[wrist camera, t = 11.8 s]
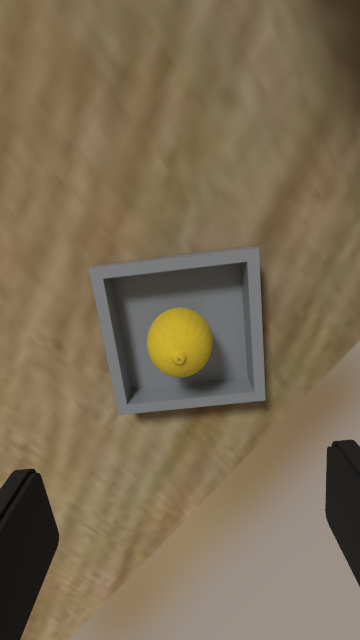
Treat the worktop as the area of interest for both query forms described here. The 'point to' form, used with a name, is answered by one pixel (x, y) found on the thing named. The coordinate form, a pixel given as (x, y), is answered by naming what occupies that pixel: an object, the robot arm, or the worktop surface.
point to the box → (193, 293)
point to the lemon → (179, 342)
